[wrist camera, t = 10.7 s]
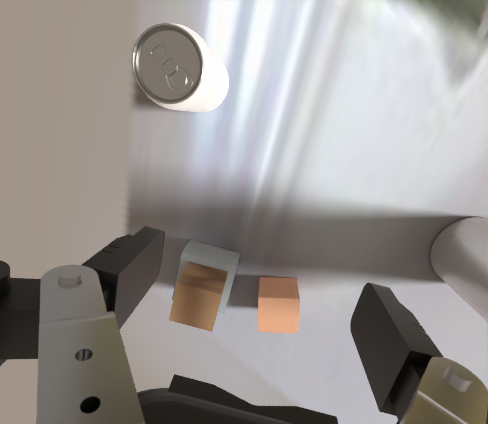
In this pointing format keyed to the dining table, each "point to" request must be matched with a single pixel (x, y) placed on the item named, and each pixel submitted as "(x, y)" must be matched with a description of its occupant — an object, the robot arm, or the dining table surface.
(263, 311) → the terracotta cube
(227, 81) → the can
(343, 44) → the dining table surface
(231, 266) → the base block
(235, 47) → the dining table surface
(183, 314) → the walnut cube
